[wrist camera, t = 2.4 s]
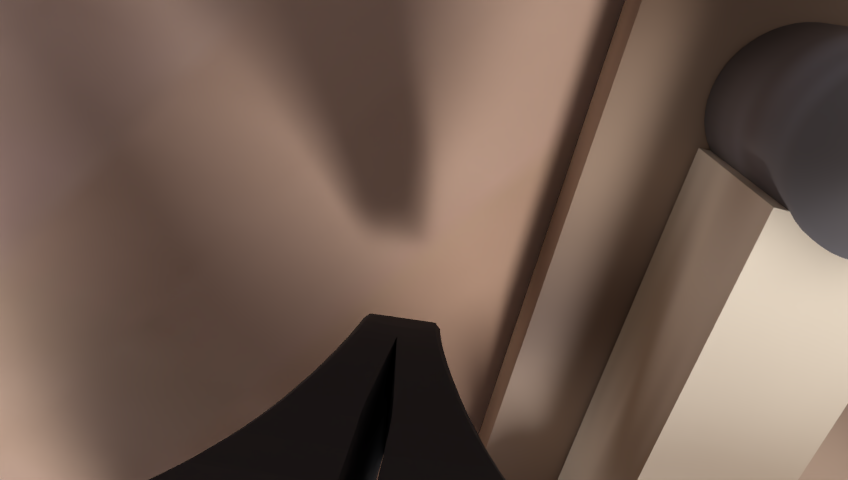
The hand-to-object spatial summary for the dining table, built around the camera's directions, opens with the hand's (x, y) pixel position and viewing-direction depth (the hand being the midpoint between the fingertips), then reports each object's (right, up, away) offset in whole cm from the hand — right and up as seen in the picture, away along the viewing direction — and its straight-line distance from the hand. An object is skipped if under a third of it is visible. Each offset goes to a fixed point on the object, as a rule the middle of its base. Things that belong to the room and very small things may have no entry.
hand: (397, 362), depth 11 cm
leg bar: (+6, +1, +1) cm, 6 cm away
